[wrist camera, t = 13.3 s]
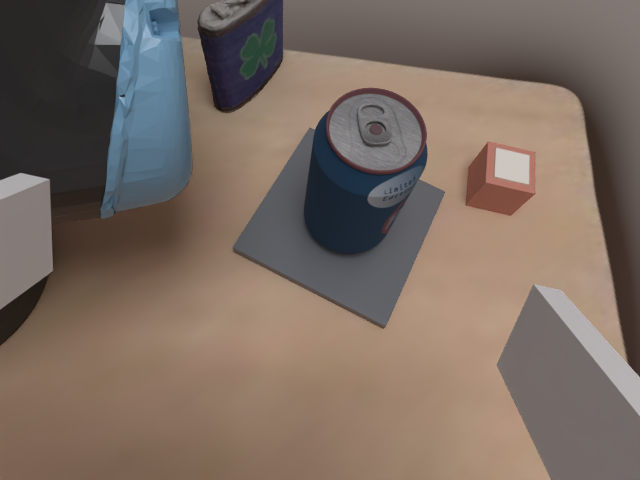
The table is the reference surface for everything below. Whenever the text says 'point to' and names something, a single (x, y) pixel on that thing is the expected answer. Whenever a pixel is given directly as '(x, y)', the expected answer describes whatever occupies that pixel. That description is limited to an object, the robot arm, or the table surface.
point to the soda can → (363, 168)
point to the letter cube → (501, 178)
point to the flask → (241, 48)
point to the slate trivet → (330, 266)
